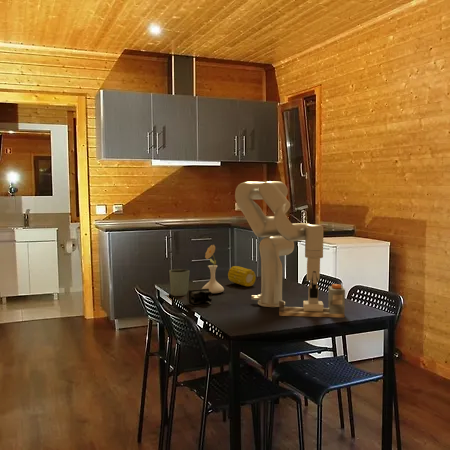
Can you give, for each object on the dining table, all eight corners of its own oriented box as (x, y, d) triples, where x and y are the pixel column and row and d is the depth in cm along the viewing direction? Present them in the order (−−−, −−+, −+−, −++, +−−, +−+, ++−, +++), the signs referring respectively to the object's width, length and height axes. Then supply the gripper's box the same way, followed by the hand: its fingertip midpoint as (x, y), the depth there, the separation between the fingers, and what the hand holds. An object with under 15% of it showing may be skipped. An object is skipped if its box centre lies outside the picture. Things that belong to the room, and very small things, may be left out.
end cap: (206, 301, 243) (206, 287, 242) (212, 304, 236) (212, 290, 236) (186, 303, 238) (186, 289, 238) (192, 306, 232) (192, 292, 231)
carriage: (304, 311, 216) (304, 287, 215) (303, 307, 223) (303, 284, 222) (323, 312, 215) (323, 288, 214) (321, 308, 222) (322, 285, 221)
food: (258, 286, 279) (258, 268, 278) (239, 288, 274) (239, 269, 273) (244, 281, 293) (244, 264, 292) (225, 283, 287) (225, 265, 286)
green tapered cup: (166, 295, 255) (166, 271, 254) (173, 291, 265) (173, 268, 264) (185, 296, 253) (185, 272, 252) (192, 292, 263) (192, 269, 262)
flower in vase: (201, 290, 268) (201, 242, 266) (223, 290, 269) (223, 242, 267) (202, 295, 255) (202, 245, 253) (225, 295, 256) (225, 245, 254)
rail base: (279, 315, 216) (279, 288, 215) (279, 311, 224) (279, 284, 224) (344, 317, 213) (345, 290, 212) (342, 312, 222) (342, 286, 221)
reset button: (332, 288, 215) (332, 285, 215) (331, 286, 219) (331, 284, 219) (342, 288, 215) (342, 286, 215) (340, 287, 219) (340, 284, 219)
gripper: (304, 251, 226) (303, 292, 227) (305, 256, 209) (305, 300, 211) (321, 251, 225) (320, 293, 226) (324, 256, 209) (323, 301, 210)
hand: (313, 296), depth 218 cm, fingers closed on carriage, 3 cm apart
